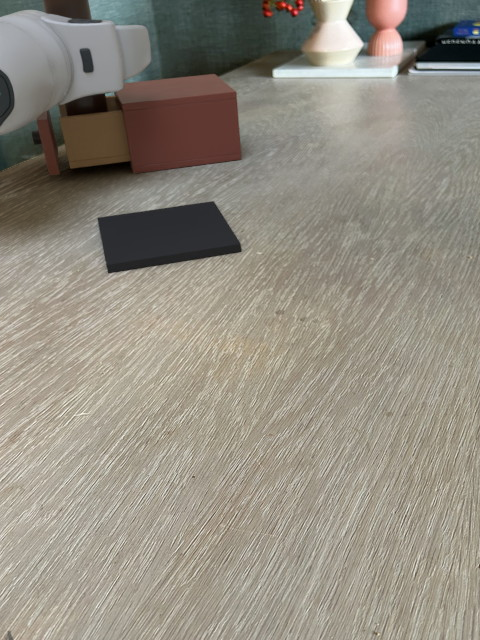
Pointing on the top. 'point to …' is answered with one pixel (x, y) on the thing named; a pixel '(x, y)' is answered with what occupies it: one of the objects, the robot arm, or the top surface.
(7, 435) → the top surface
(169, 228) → the plate
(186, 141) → the cabinet
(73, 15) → the pepper mill
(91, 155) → the drawer
